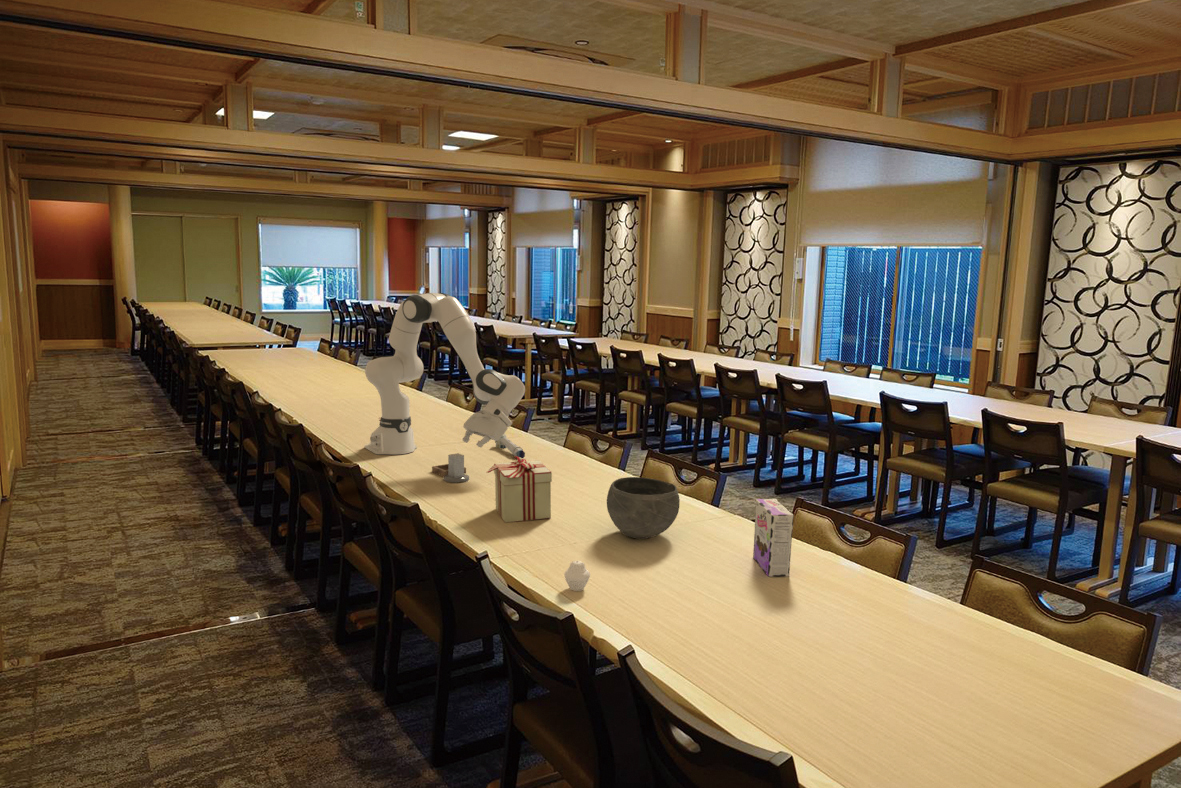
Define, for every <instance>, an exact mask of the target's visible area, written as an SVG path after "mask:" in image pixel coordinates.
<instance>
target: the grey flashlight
mask: <svg viewBox="0 0 1181 788" xmlns="http://www.w3.org/2000/svg"><path fill="white" fill-rule="evenodd" d="M494 443H495V449H499V448H505V449H507V450H508V451H509V452H510V453H511V455H512V456H513V457H514V456H517V457H520V458H523V459H525V457H526V452H525V451H524V450H523V448H522V447H521V446H518V445H517V444H515V443H514V442H513V441H512V440H510V439H509V438H508V437H507V434H506V433H504V434H503V436H502V437H501V438H500V439H499V440H497V441H495V440H494Z"/></svg>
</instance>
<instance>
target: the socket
mask: <svg viewBox="0 0 1181 788" xmlns="http://www.w3.org/2000/svg"><path fill="white" fill-rule="evenodd" d="M431 472H432V473H434V472H435V473H434V474H436V473H437V475H439V474H440V475H439V476H441V475H442V476H441V477H444V476H446V475H448V463H446V464H439V465H433V466H432V467H431ZM464 474H467V468H466V467H465V466H464Z"/></svg>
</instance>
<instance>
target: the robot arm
mask: <svg viewBox="0 0 1181 788" xmlns="http://www.w3.org/2000/svg"><path fill="white" fill-rule="evenodd" d="M433 322H438V323H439V325H440V327H441V329H442V331H443V333H444V335H445V336H446V338H447V339H448V341H449V343H450V344H451V346H452V347H453V348H454V351H455V352H456V353H457V356H459V358H460V360H461V361H462V364H463V366H464V367H465V369H466V372H467V374H468V376H469V378H470V380H471V383H472V393H473V397H474V399H475V400H476V402H478V403H480V404H482V405H485V406H484V407H483V409H482V410H479V411H476V412H474V413H472V414H471V416H470V417H468V419H466V420H465V422H464V423H463V426H462V427H463V429H465V433H464V436H463V437H462V441H463V442H464V443H467V444H468V442H469V441H470V440H471V439H470V438H471V436H472V435H473V434H474V435H477V436H480V437H482V439H480V440H478V441H477V442H476V444H475V445H476V446H477V447H478V448H483V446H484V445H485V444H488V443H489V442H490V441H491V440H493V441H494V442H495V441H497V440H499V439H500V438H501V437H502V436H503V434H506V431H507V430H508V428H510V427H511V426H512V425H513V421H511V419H510V418H509V416H510V414H511V412H512V410H513V409H515V408H516V407H517V406H518V404H519V403H520V401H521V400H522V398H523V397H524V395H525V392H526V386H525V384H524V382H523V381H522V380H521V379H520V378H519V377H518V376H516V375H515V374H514V375H513V374H511V375H508V374H503V373H501V372H497V371H496V370H494V369H491V368H484V365H483V363H482V362H481V359H480V356H479V354H478V348H477V333H476V329H475V327H474V324H473V321H472V319H471V317H470V315H469V314H468V312H467V311H466V309H465V307H464V306H463V304H462V303H461V302H460V301H459V300H458V299H457V298H456V297H455V296H451V295H450V294H447V293H444V292H426V293H421V294H413V295H409V296H408V297H406V298H405V299H404V300H403V301H401V302H400V304H399V306H398V309H397V310H396V313H395V315H394V319H393V322H392V324H391V329H390V332H389V337H388V343H389V344H390V346H391V347H392V348H393V349H394V350H395V351H394V354H393V356H381V357H377V358H374V359H372V360H369V361H368V362H367V363H366V366H365V370H364V371H365V374H364V375H365V377H366V379H367V381H368V382H369V383H370V384H372V385H373V386H374V387H375V388H376V390H377V392H378V394H379V398H380V404H381V405H380V406H381V417H380V418H379V419H378V421H379V425H378V426H377V428H376V429H375V430H374V431H373V432H371V434H370V437H369V439H370V441H369V442H370V443H368V444H367V443H366V444H364V448H365V449H366V450H368V451H370V452H371V453H373V454H375V455H405V454H409V453H412V452H414V451H415V450H416V449H417V448H418V447H417V445H416V444H415V438H414V437H415V436H414V429H413V428H412V427H411V425H412V418H411V414H410V411H411V410H410V407H411V405H410V398H409V396H408V395H407V394H406V393H404V392H402V391H401V388H400V385H399V384H401V383H408V382H409V383H410V382H412V381H414V380H417V379H420V378H421V377H422V376H423V373H424V363H423V361H422V359H421V358H420V357H419V356H418V352H417V350H418V349H417V347H418V341H419V338H420V335H421V330H422V327H423V324H425V323H427V324H428V323H433Z"/></svg>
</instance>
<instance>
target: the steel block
mask: <svg viewBox="0 0 1181 788" xmlns="http://www.w3.org/2000/svg"><path fill="white" fill-rule="evenodd" d="M447 457H448V460H447V461H448V463H447V464H448V476H449V477H451V478H453V479H457V478H463V477H464V474H465V473H464V467H465V455H464V454H461V453H459V452H457V453H451V454H450V453H449V454H448V455H447Z"/></svg>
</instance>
